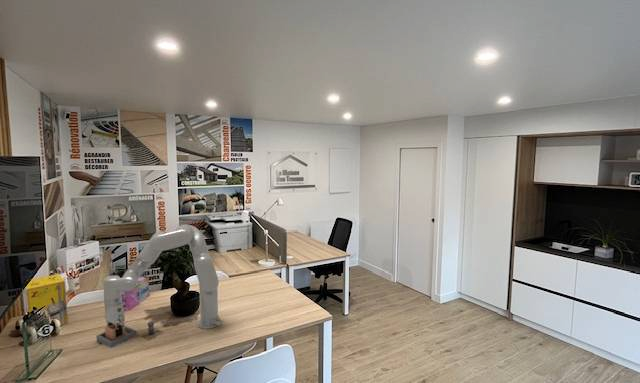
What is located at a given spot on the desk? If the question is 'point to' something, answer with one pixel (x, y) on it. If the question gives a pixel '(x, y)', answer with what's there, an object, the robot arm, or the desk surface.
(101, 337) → the tray
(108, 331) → the ring
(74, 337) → the desk surface
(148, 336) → the board
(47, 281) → the packaging box
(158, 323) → the desk surface
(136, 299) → the gum box
